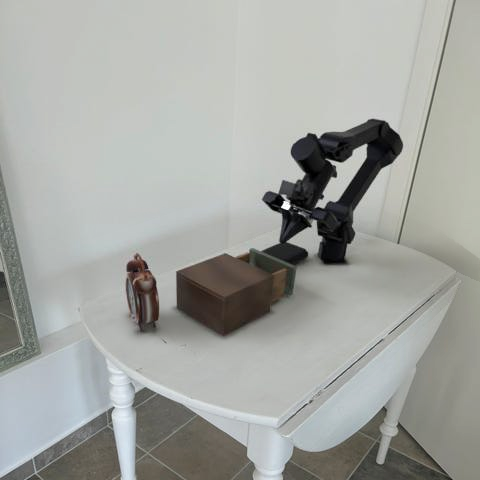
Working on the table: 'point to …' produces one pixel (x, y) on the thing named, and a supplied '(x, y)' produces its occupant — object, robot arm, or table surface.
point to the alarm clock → (141, 292)
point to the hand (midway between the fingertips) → (281, 242)
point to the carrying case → (287, 252)
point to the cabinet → (224, 293)
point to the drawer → (273, 271)
